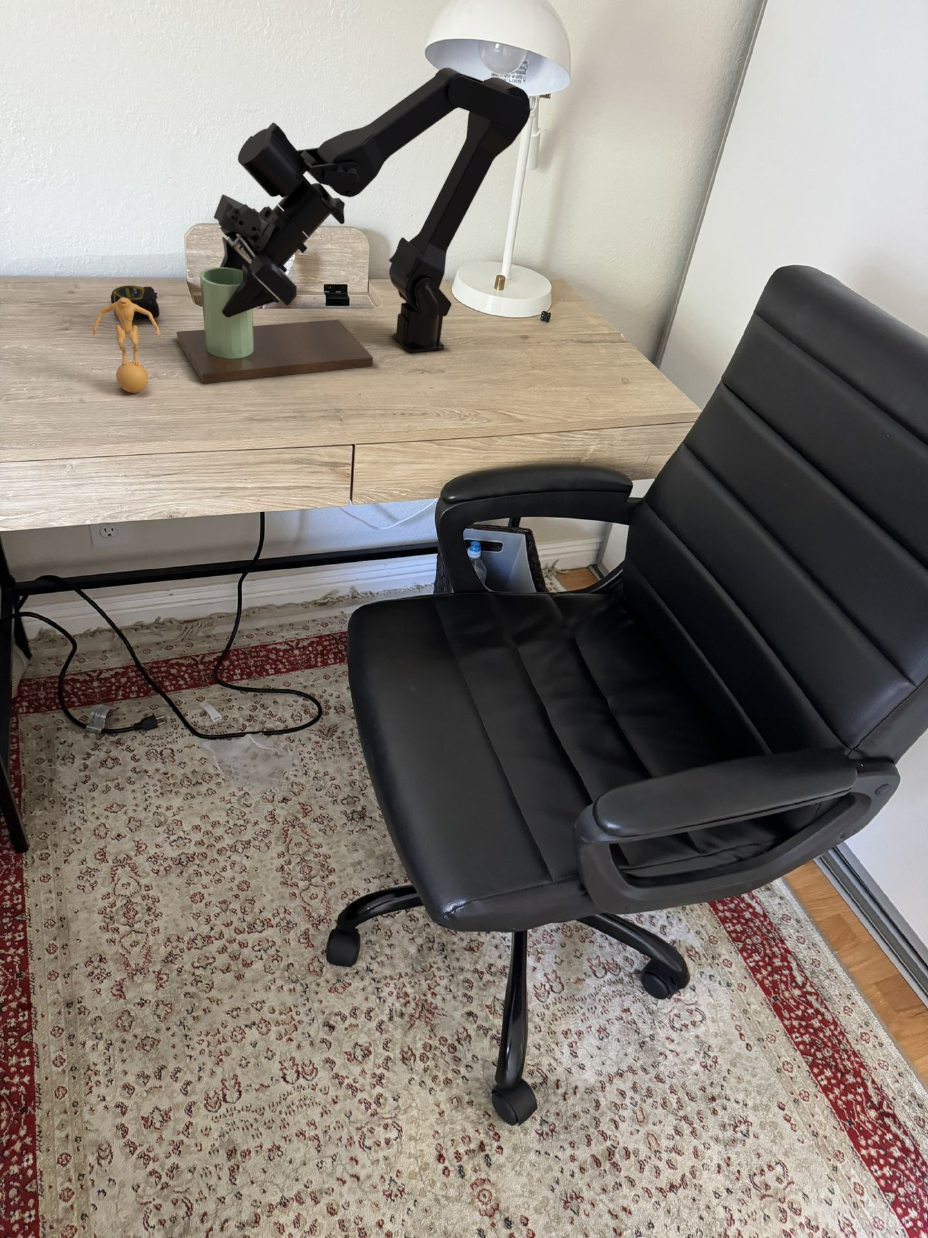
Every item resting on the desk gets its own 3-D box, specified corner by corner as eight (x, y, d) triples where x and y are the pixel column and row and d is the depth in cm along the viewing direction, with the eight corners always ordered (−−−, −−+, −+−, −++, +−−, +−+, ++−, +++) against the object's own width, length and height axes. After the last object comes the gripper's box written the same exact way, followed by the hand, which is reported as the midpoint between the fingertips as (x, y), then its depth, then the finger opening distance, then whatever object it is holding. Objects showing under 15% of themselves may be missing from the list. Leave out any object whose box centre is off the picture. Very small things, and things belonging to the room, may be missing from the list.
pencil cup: (256, 340, 122) (253, 269, 115) (251, 360, 117) (248, 288, 110) (209, 336, 121) (203, 264, 114) (203, 356, 116) (196, 282, 109)
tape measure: (161, 325, 125) (158, 301, 122) (113, 325, 122) (109, 300, 120) (158, 307, 129) (156, 283, 127) (112, 306, 127) (109, 282, 125)
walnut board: (338, 327, 133) (338, 319, 132) (372, 366, 124) (373, 356, 123) (177, 340, 122) (176, 331, 121) (203, 383, 113) (202, 373, 112)
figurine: (100, 397, 107) (83, 307, 99) (103, 376, 111) (88, 288, 103) (166, 398, 109) (155, 310, 101) (167, 377, 113) (157, 292, 105)
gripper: (231, 154, 111) (157, 239, 113) (271, 198, 99) (188, 291, 102) (287, 215, 119) (217, 293, 122) (330, 262, 108) (252, 346, 110)
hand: (217, 304), depth 114 cm, fingers closed on pencil cup, 7 cm apart
